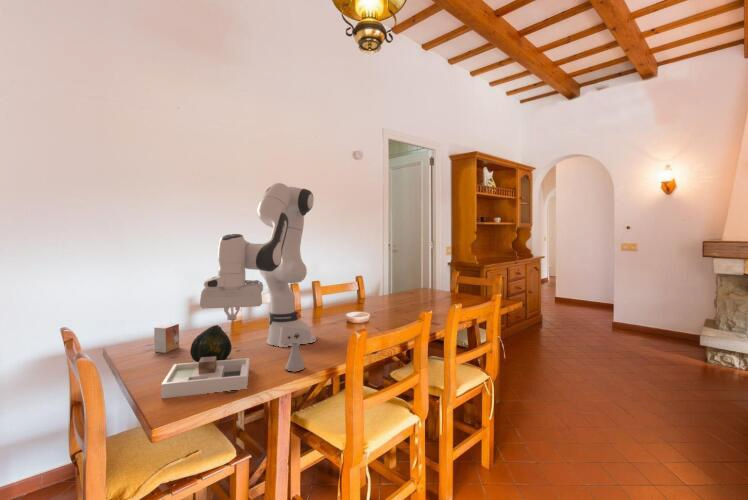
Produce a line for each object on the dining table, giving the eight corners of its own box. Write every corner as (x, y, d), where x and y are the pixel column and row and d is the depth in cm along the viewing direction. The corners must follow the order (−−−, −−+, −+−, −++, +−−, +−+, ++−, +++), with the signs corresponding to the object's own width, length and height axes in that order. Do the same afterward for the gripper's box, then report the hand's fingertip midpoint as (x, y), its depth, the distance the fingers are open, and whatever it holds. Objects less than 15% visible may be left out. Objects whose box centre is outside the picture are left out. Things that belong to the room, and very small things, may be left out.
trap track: (249, 369, 135) (249, 358, 135) (247, 389, 119) (247, 376, 119) (174, 376, 128) (174, 364, 128) (161, 398, 112) (161, 384, 111)
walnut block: (216, 367, 129) (216, 356, 129) (214, 372, 125) (214, 361, 124) (201, 368, 128) (201, 357, 128) (198, 374, 123) (198, 362, 123)
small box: (165, 353, 151) (165, 328, 150) (154, 352, 152) (153, 327, 151) (179, 347, 159) (179, 323, 158) (168, 346, 160) (168, 322, 159)
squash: (181, 358, 131) (211, 324, 135) (184, 347, 145) (211, 317, 148) (213, 379, 135) (241, 346, 139) (213, 367, 149) (239, 337, 153)
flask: (295, 374, 132) (295, 347, 131) (281, 370, 135) (281, 344, 135) (308, 368, 138) (309, 342, 137) (294, 364, 142) (295, 339, 141)
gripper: (263, 278, 133) (262, 316, 133) (202, 279, 127) (202, 318, 128) (263, 281, 127) (262, 320, 127) (198, 282, 121) (199, 323, 122)
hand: (232, 319), depth 127 cm, fingers closed
